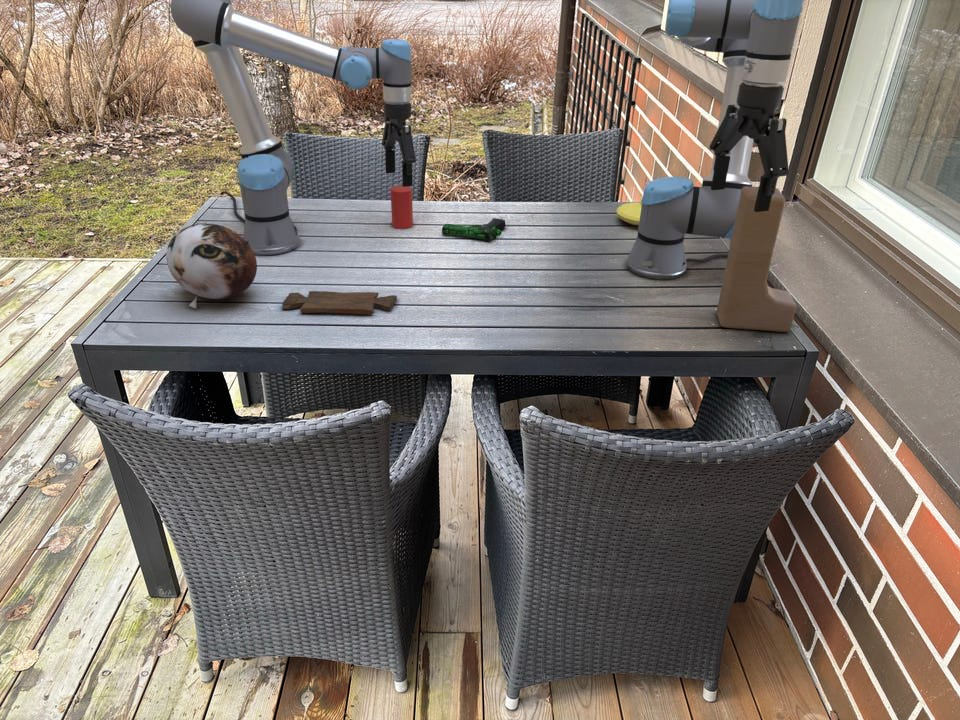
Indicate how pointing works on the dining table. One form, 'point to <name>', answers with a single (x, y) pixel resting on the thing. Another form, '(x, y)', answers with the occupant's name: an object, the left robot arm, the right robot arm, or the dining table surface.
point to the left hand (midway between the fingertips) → (398, 179)
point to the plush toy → (211, 261)
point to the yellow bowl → (630, 212)
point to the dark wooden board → (338, 302)
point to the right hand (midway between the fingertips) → (738, 199)
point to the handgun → (476, 230)
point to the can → (401, 207)
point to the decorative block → (754, 270)
